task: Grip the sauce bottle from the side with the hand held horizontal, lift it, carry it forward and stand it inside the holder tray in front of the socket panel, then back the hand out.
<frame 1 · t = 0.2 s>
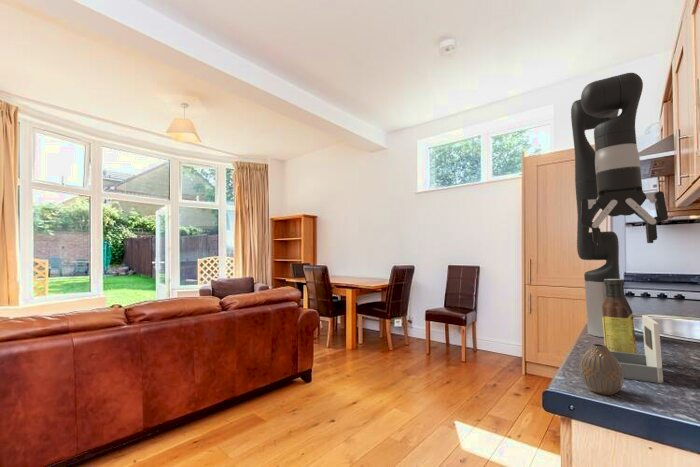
hand: (623, 244, 72), 29 cm above the worktop, tool pointing down, fingers open, 8 cm apart
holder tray: (623, 371, 75), on the worktop
sauce bottle: (620, 359, 84), on the worktop
vase: (602, 391, 65), on the worktop
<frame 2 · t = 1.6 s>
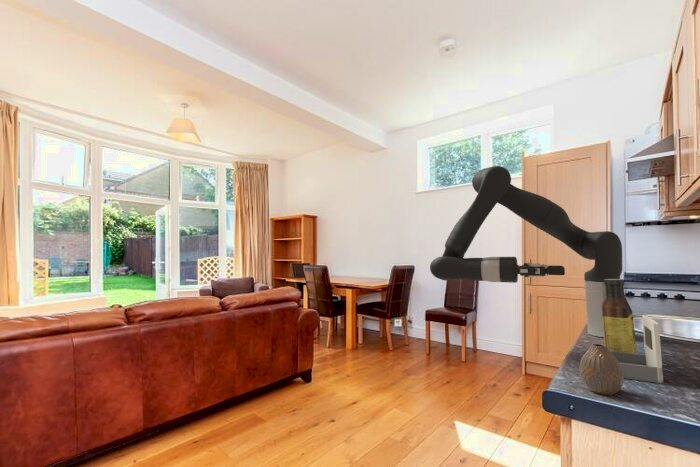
hand: (564, 270, 91), 22 cm above the worktop, tool horizontal, fingers open, 8 cm apart
nothing on the worktop moved.
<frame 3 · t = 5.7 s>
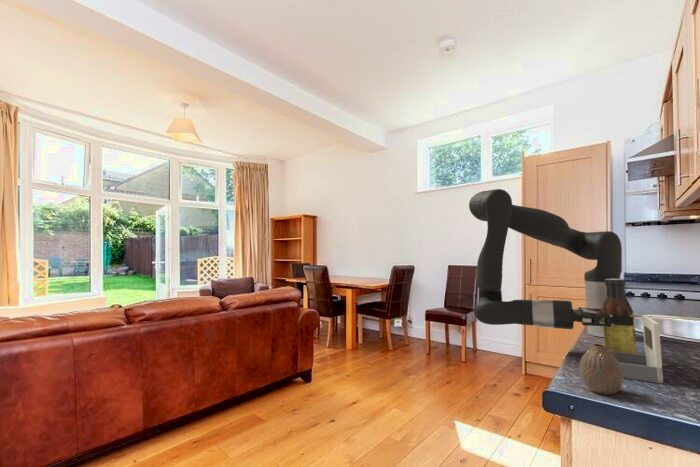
hand: (629, 318, 84), 10 cm above the worktop, tool horizontal, fingers closed on sauce bottle, 6 cm apart
sauce bottle: (620, 359, 84), on the worktop, touching gripper
everything else where it was.
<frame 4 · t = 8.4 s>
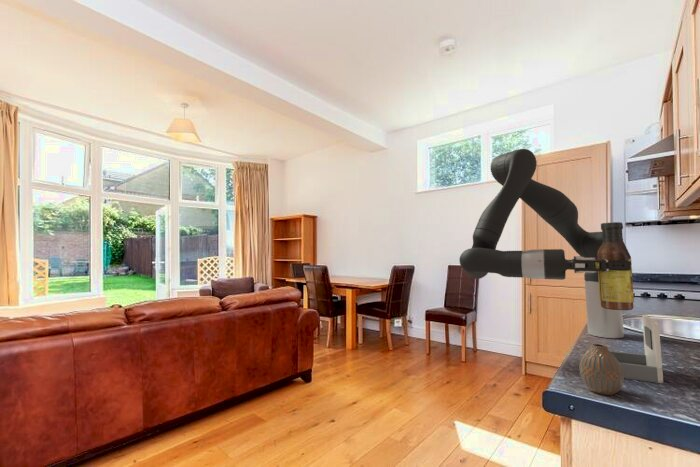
hand: (627, 265, 76), 24 cm above the worktop, tool horizontal, fingers closed on sauce bottle, 6 cm apart
sauce bottle: (616, 309, 77), point 14 cm above the worktop, touching gripper
everything else where it was.
when the fingers open (12 cm above the worktop, at t = 11.3 s): sauce bottle drops 1 cm, resting on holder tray.
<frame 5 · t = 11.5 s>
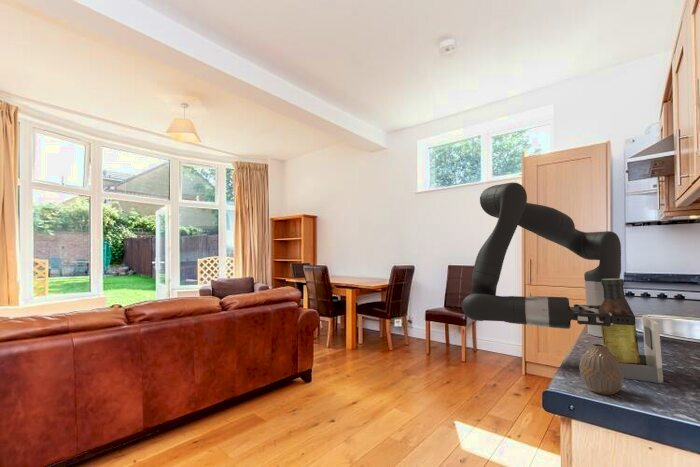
hand: (631, 316, 75), 12 cm above the worktop, tool horizontal, fingers open, 8 cm apart
sauce bottle: (622, 368, 75), point 1 cm above the worktop, touching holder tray
everything else where it was.
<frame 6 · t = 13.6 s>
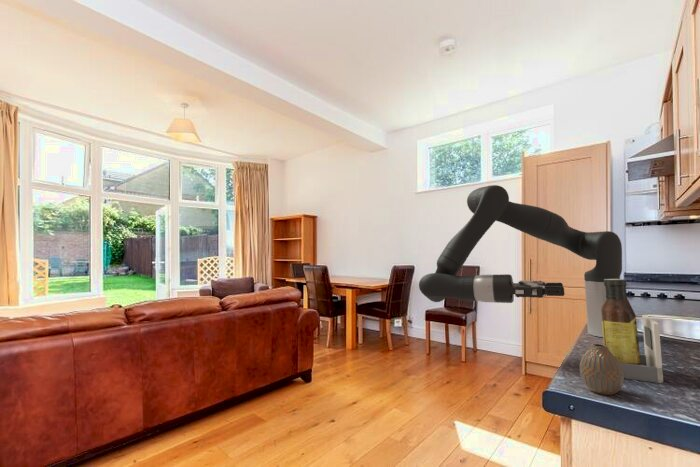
hand: (563, 289, 83), 18 cm above the worktop, tool horizontal, fingers open, 8 cm apart
nothing on the worktop moved.
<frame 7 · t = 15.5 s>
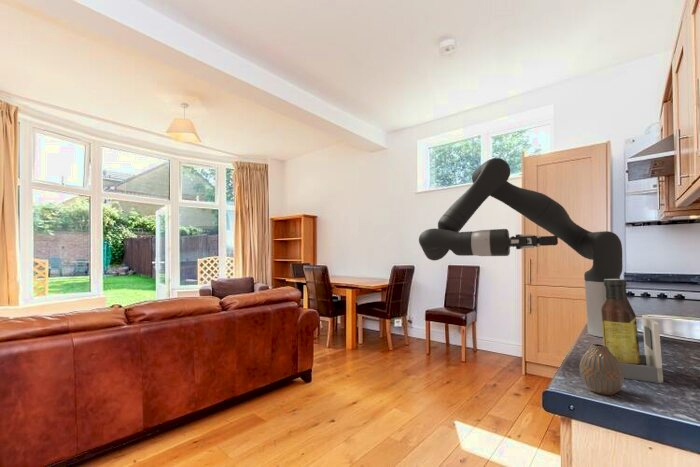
hand: (557, 240, 86), 30 cm above the worktop, tool horizontal, fingers open, 8 cm apart
nothing on the worktop moved.
at the end: sauce bottle inside the target area on the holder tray (0.4 cm from its centre), point 0.6 cm above the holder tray's base; sauce bottle tilted 0°; the gripper is holding nothing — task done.
